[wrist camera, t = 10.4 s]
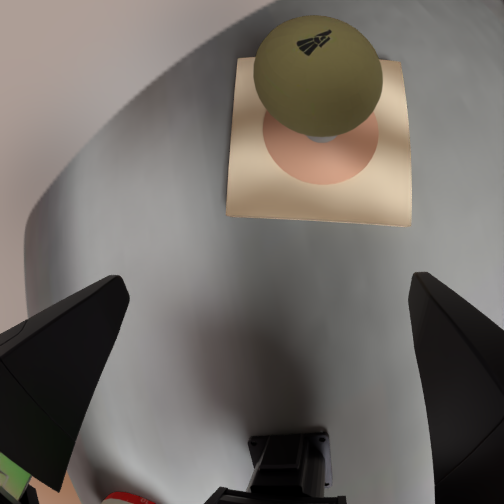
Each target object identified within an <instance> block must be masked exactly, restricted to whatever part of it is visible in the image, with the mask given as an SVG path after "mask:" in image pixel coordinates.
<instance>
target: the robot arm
mask: <svg viewBox="0 0 504 504" xmlns="http://www.w3.org/2000/svg"><path fill="white" fill-rule="evenodd" d="M129 301H130V297H129V293H128V291H127V288H126V286H125V283H124V281H123V279H122V277H121V276H119V275H109V276H107V277H105V278H103V279H101V280H99V281H97V282H95V283H93V284H91V285H90V286H88V287H86V288H84V289H82V290H80V291H78V292H76V293H74V294H73V295H71V296H69V297H67V298H65V299H63V300H61V301H59V302H58V303H56V304H54V305H52V306H50V307H48V308H47V309H45V310H43V311H41V312H39V313H38V314H36V315H34V316H32V317H30V318H29V319H27V320H25V321H23V322H21V323H20V324H18V325H16V326H14V327H12V328H11V329H9V330H7V331H5V332H3V333H1V334H0V504H39V501H38V497H37V493H36V489H35V488H33V487H32V486H31V485H29V482H30V480H31V478H32V476H33V477H35V478H36V479H38V480H39V481H41V482H42V483H44V484H45V485H47V486H48V487H50V488H52V489H53V490H55V491H57V492H58V493H59V492H60V490H61V487H62V483H63V480H64V477H65V473H66V470H67V467H68V464H69V461H70V458H71V455H72V452H73V449H74V446H75V443H76V442H75V441H76V439H77V436H78V434H79V431H80V428H81V425H82V422H83V420H84V417H85V414H86V412H87V409H88V406H89V404H90V401H91V399H92V396H93V394H94V391H95V388H96V386H97V384H98V381H99V379H100V376H101V374H102V371H103V369H104V367H105V364H106V362H107V360H108V357H109V355H110V353H111V350H112V348H113V346H114V343H115V341H116V339H117V336H118V333H119V330H120V327H121V324H122V321H123V318H124V316H125V313H126V310H127V307H128V304H129ZM408 304H409V311H410V318H411V325H412V333H413V341H414V349H415V354H416V359H417V364H418V368H419V373H420V378H421V383H422V388H423V394H424V399H425V405H426V412H427V418H428V425H429V432H430V440H431V449H432V459H433V470H434V484H435V504H504V330H503V329H501V328H500V327H499V326H498V325H497V324H495V323H494V322H493V321H492V320H490V319H489V318H488V317H487V316H485V315H484V314H483V313H482V312H480V311H479V310H478V309H476V308H475V307H474V306H473V305H471V304H470V303H469V302H467V301H466V300H465V299H464V298H462V297H461V296H460V295H458V294H457V293H456V292H454V291H453V290H452V289H450V288H449V287H447V286H446V285H445V284H443V283H442V282H441V281H439V280H438V279H437V278H435V277H434V276H432V275H431V274H430V273H428V272H415V273H414V274H413V276H412V281H411V286H410V291H409V297H408ZM322 437H324V438H325V439H320V438H322ZM252 441H255V442H256V443H253V442H252ZM248 446H249V450H250V454H251V458H252V462H253V466H254V472H253V474H252V477H251V480H250V482H249V485H248V487H247V490H246V492H243V491H236V490H230V489H228V488H225V487H219V488H218V489H217V490H216V492H215V493H213V494H212V496H211V497H210V498H209V499H208V500H207V501H206V502H205V503H204V504H347V503H346V496H338V497H324V488H329V487H331V486H332V468H331V455H330V443H329V435H328V434H327V433H325V432H320V433H310V434H291V435H271V436H253V437H250V438H249V440H248Z"/></svg>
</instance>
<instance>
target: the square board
mask: <svg viewBox="0 0 504 504" xmlns="http://www.w3.org/2000/svg"><path fill="white" fill-rule="evenodd" d="M254 61H255V57H248V58H238V62H237V72H236V83H235V95H234V106H233V119H232V131H231V144H230V158H229V173H228V188H227V204H226V216H230V217H244V218H268V219H289V220H308V221H326V222H342V223H357V224H371V225H384V226H397V227H409V226H411V209H412V182H411V152H410V136H409V124H408V113H407V104H406V96H405V88H404V81H403V74H402V68H401V62H396V61H389V60H380V59H379V61H380V63H381V67H382V72H383V86H382V93H381V96H380V99H379V101H378V103H377V105H376V107H375V109H374V111H373V112H372V114H371V115H370V116H369V117H368V118H367V120H365V121H364V122H363V123H361V124H360V125H359V126H357V127H356V128H355V129H353V130H351V131H349V132H347V133H344V134H340V135H337V137H336V138H334V139H333V140H332V141H329V142H326V143H317V142H314V141H312V140H310V139H309V138H308V137H307V136H306V135H304V134H300V133H297V132H295V131H293V130H291V129H289V128H287V127H285V126H284V125H282V124H281V123H280V122H278V121H277V120H276V119H275V118H274V117H273V116H271V115H270V113H269V112H268V111H267V109H266V108H265V107H264V105H263V104H262V102H261V100H260V99H259V96H258V94H257V91H256V88H255V84H254V78H253V69H254Z"/></svg>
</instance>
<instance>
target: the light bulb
mask: <svg viewBox="0 0 504 504" xmlns="http://www.w3.org/2000/svg"><path fill="white" fill-rule="evenodd" d="M253 78H254V84H255V88H256V91H257V94H258V96H259V99H260V100H261V102H262V104H263V105H264V107H265V108H266V109H267V111H268V112H269V113H270V115H271V116H273V117H274V118H275V119H276V120H277V121H278V122H280V123H281V124H282V125H284V126H285V127H287V128H289V129H291V130H293V131H295V132H297V133H300V134H304V135H306V136H307V137H308V138H309V139H310V140H312V141H314V142H317V143H326V142H329V141H332V140H333V139H334V138H336V137H337V135H340V134H344V133H347V132H349V131H351V130H353V129H355V128H356V127H357V126H359V125H360V124H361V123H363V122H364V121H365V120H367V118H368V117H369V116H370V115H371V114H372V112H373V111H374V109H375V107H376V105H377V103H378V101H379V99H380V96H381V93H382V86H383V72H382V67H381V63H380V61H379V58H378V56H377V54H376V51H375V49H374V48H373V46H372V45H371V44H370V42H369V41H368V40H367V39H366V38H365V37H364V36H363V35H362V34H361V33H360V32H359V31H358V30H357V29H355V28H354V27H352V26H351V25H349V24H347V23H345V22H343V21H340V20H338V19H334V18H331V17H326V16H317V15H312V16H302V17H297V18H294V19H291V20H288V21H286V22H284V23H282V24H280V25H279V26H277V27H276V28H275V29H273V30H272V31H271V32H270V33H269V34H268V36H267V37H266V38H265V39H264V40H263V42H262V43H261V45H260V47H259V49H258V50H257V54H256V57H255V61H254V69H253Z"/></svg>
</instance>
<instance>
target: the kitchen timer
mask: <svg viewBox="0 0 504 504" xmlns="http://www.w3.org/2000/svg"><path fill="white" fill-rule="evenodd" d="M101 504H156V503H154V502H151V501H149V500H147V499H144V498H142V497H140V496H137V495H133V494H130V493H127V492H114V493H111V494H109V495H108V496H107V497H106V498H105V499H104V500H103V502H102V503H101Z"/></svg>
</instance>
